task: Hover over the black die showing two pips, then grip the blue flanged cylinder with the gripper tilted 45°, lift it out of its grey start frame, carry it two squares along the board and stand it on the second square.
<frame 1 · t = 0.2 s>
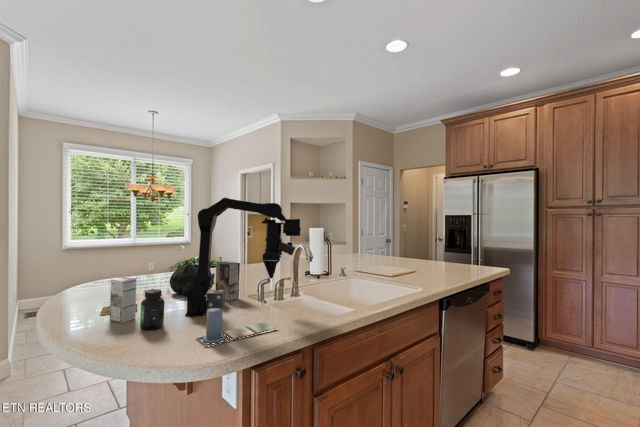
hand: (272, 275, 124), 15 cm above the worktop, fingers open, 9 cm apart
cookie: (119, 311, 123), on the worktop
squash: (187, 293, 152), on the worktop
supplement bottle: (151, 328, 105), on the worktop
blue flanged cylinder: (213, 340, 96), resting in game board
game board: (239, 334, 101), on the worktop
syrup box: (122, 320, 112), on the worktop
coffee box: (226, 298, 145), on the worktop
die: (216, 306, 131), on the worktop
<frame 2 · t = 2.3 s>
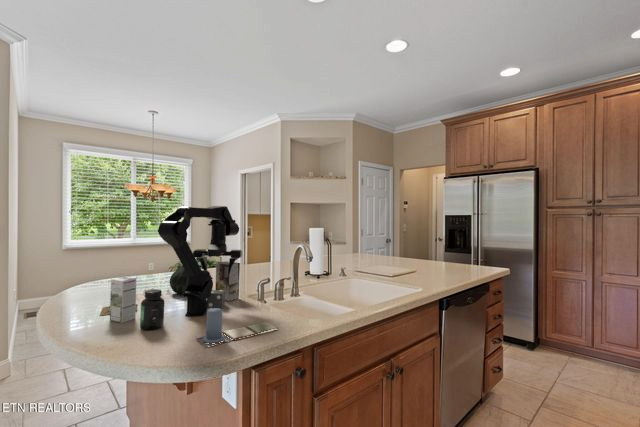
hand: (217, 274, 132), 13 cm above the worktop, fingers open, 9 cm apart
nothing on the worktop moved.
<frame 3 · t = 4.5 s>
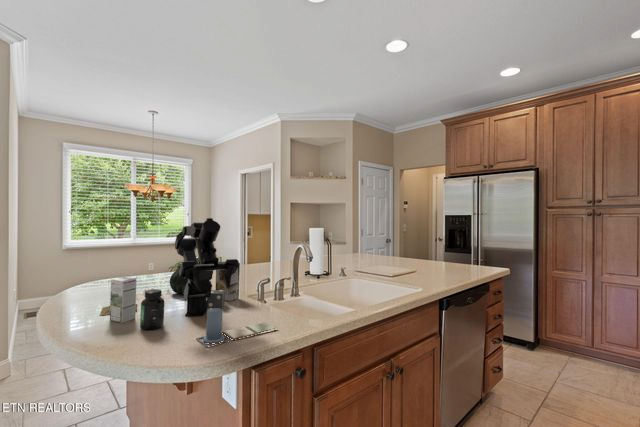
hand: (214, 289, 104), 13 cm above the worktop, fingers open, 9 cm apart
nothing on the worktop moved.
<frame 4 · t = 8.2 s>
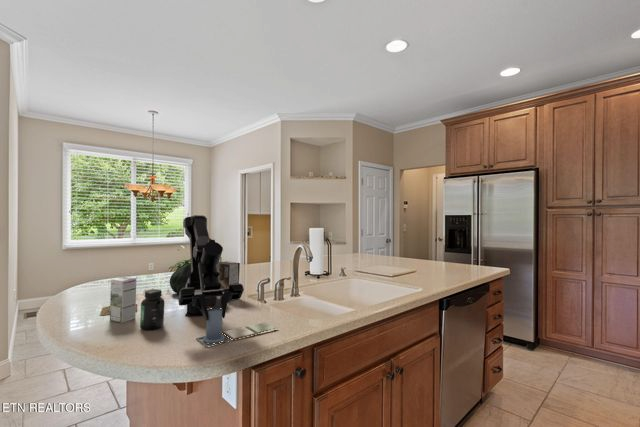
hand: (215, 318, 95), 7 cm above the worktop, fingers closed on blue flanged cylinder, 4 cm apart
blue flanged cylinder: (213, 340, 96), resting in game board, touching gripper
everything else where it was.
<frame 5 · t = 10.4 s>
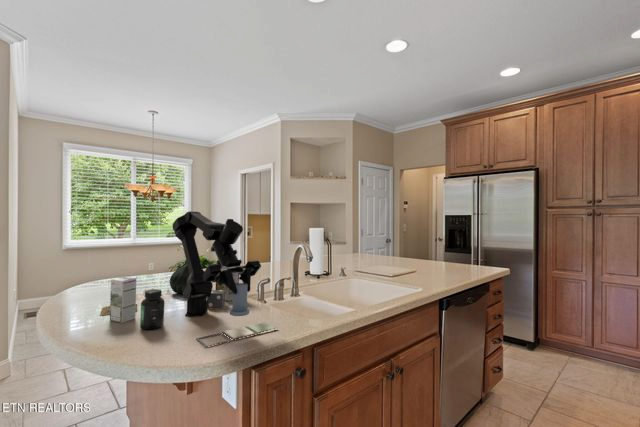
hand: (242, 292, 100), 14 cm above the worktop, fingers closed on blue flanged cylinder, 4 cm apart
blue flanged cylinder: (239, 313, 101), point 7 cm above the worktop, touching gripper
everything else where it was.
when the fingers open (9 cm above the worktop, at t = 13.0 s): blue flanged cylinder drops 1 cm, resting on game board.
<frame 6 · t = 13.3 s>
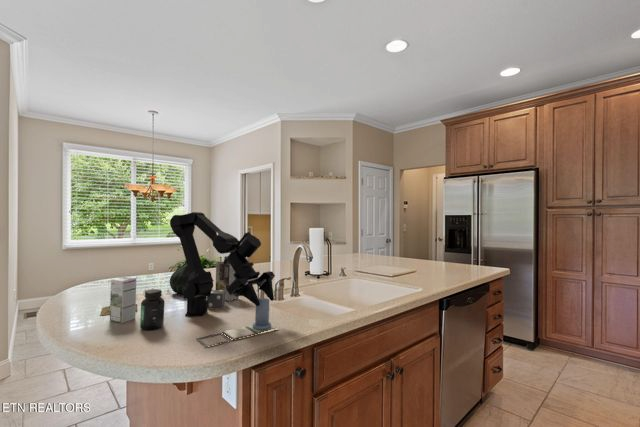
hand: (266, 302, 106), 9 cm above the worktop, fingers open, 7 cm apart
blue flanged cylinder: (261, 327, 107), point 1 cm above the worktop, touching game board
everything else where it was.
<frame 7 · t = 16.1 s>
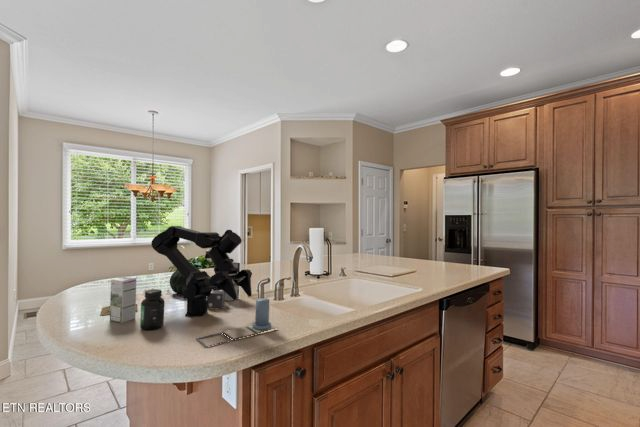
hand: (243, 297, 111), 9 cm above the worktop, fingers open, 9 cm apart
nothing on the worktop moved.
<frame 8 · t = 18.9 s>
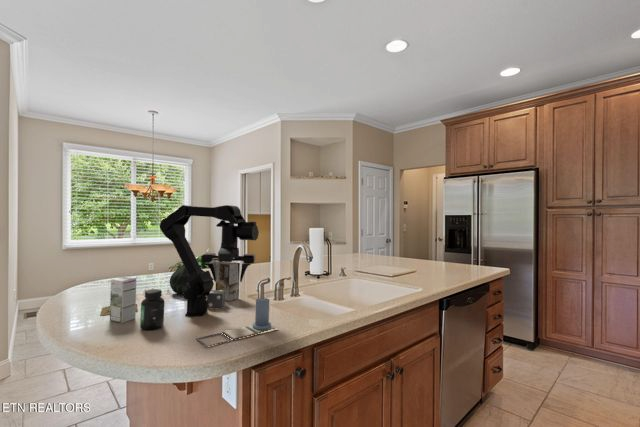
hand: (228, 281, 118), 13 cm above the worktop, fingers open, 9 cm apart
nothing on the worktop moved.
at the end: blue flanged cylinder 0.0 cm from the target spot on the game board, point 0.7 cm above the game board's base; blue flanged cylinder tilted 0°; the gripper is holding nothing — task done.
